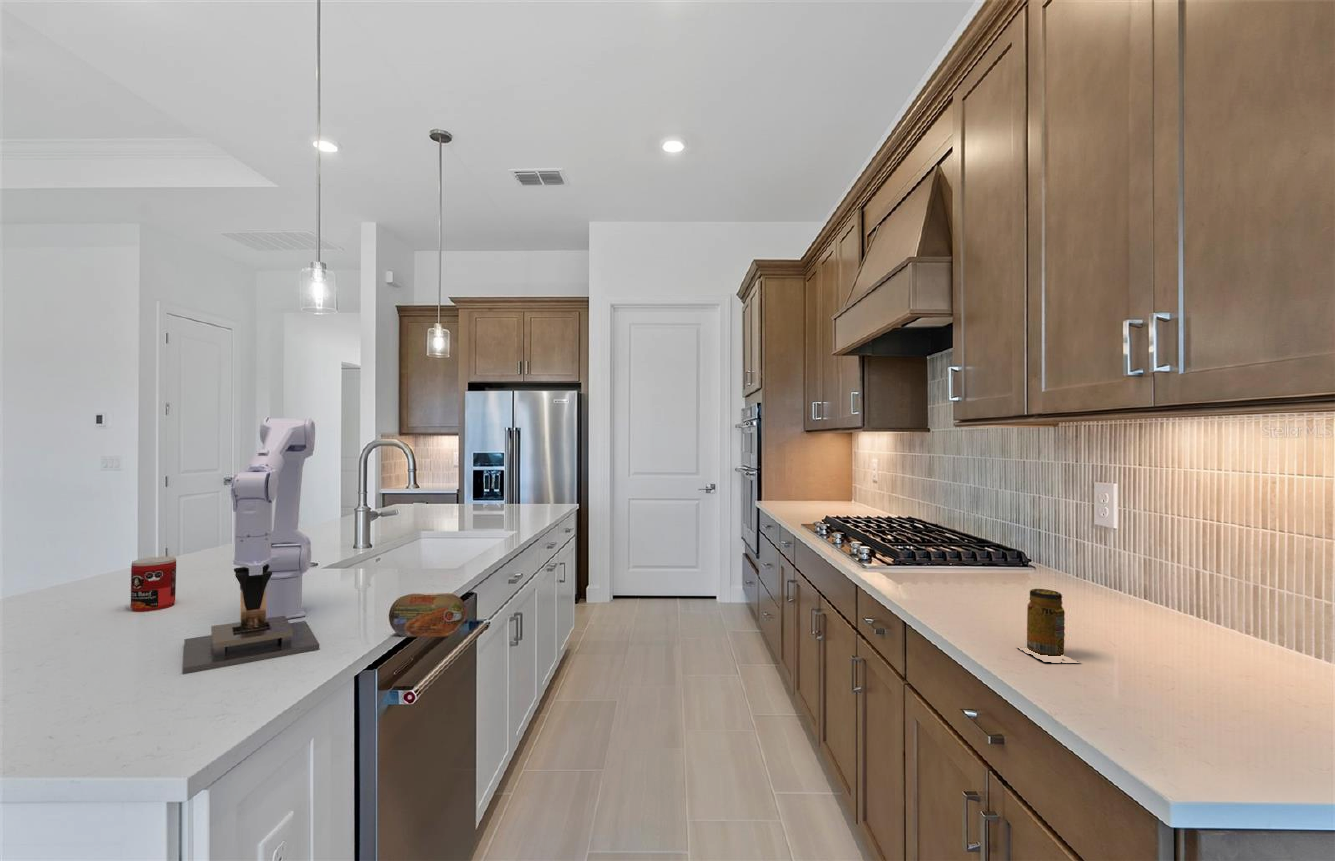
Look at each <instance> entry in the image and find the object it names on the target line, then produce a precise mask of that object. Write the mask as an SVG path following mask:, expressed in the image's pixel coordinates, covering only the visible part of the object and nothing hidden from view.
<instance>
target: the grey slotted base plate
mask: <svg viewBox="0 0 1335 861" xmlns="http://www.w3.org/2000/svg"><path fill="white" fill-rule="evenodd" d="M210 629H211V630H210V632H211V633H210V634H211V635H204V636H197V637H196V636H195V637H190V638H185V639H184V641H183V643H184V646H183V665H182V674H183V675H185V674H190V673H195V672H201V671H207V670H213V669H219V668H224V667H229V666H234V665H240V664H246V663H252V662H256V661H262V660H269V659H275V658H279V657H280V658H281V657H283V656H284V657H285V656H289V655H290V656H291V655H295V654H301V653H307V652H312V651H319V650H320V643H319V641H318V639H317V638H316V636H315V634H314V633H313V631H312V629H311V628H310V626H309V624H308V623H307V621H306V620H302V621H295V622H289V621H288V619H287V618H286V616H278V617H271V618H266V624H265V625H263V626H260V627H255V628H241V621H239V622H231V623H224V624H218V625H211V627H210Z"/></svg>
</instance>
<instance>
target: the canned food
mask: <svg viewBox="0 0 1335 861" xmlns="http://www.w3.org/2000/svg"><path fill="white" fill-rule="evenodd" d="M130 568H131V570H130V572H131V573H130V608H131V611H132V612H138V613H139V612H142V613H143V612H152V611H154V612H155V611H158V610H163V609H167V608H170V607H173V606H174V605H175V602H176V591H177V590H176V586H177V582H176V581H177V557H175V556H153V557H147V558H139V559H136V560H133V561H132V562H131V567H130Z"/></svg>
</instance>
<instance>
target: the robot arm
mask: <svg viewBox="0 0 1335 861" xmlns="http://www.w3.org/2000/svg"><path fill="white" fill-rule="evenodd" d="M259 439H260V441H261V443H262V448H261V449H259V450H256V451H255V452H254V453H253V454H252V456H251V457H250V459H249V461H248V462H247V465H246V466H245V467H244V470H243V471H240V472H239V473H238V474H235V475H233V477H232V479H231V483H230V497H231V501H232V511H233V512H235V523H234V524H235V527H234V529H235V530H234V532H235V533H234V559H233V560H232V561H233V562H232V563H233V565H235V566H238V567H235V568H233V572H234V573H235V574H234V575H235V578H236V579H237V581H238V582H239V586H240V585H241V588H242V592H243V598H244V604H245V608H246V610H247V611H249V610H257V609H260V607H261V603H262V599H263V595H264V590H265V587H266V618H271V617H278V616H286V618H287V620H288V619H294V618H301V617H302V618H303V617H305V616H306V615H307V614H306V612H305V610H304V609H303V607H302V603H303V601H302V600H303V599H302V598H303V574H305V573H306V572H308V570H309V569H310V567H311V564H312V550H311V545H312V544H311V543H312V542H311V540H310V538H309V537H308V536H307V535H305V534H304V533H302V532H301V531H300V530H298V529H299V518H300V516H299V515H300V505H301V504H300V502H301V494H302V478H303V468H304V464H305V461H306V459H307V458H310V457H312V456H313V455H314V451H315V445H316V444H315V443H316V442H315V441H316V424H315V422H314V420H312V418H279V417H278V418H275V417H274V418H273V417H271V418H270V417H264V418H263V419H262V421H261V423H260V424H259ZM274 500H275V504H274V505H275V507H274V515H273V502H274ZM273 516H274V518H273ZM273 519H274V520H273ZM272 521H273V522H272ZM272 523H273V524H272ZM272 527H273V528H272ZM272 529H273V530H272ZM266 585H267V586H266Z"/></svg>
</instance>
